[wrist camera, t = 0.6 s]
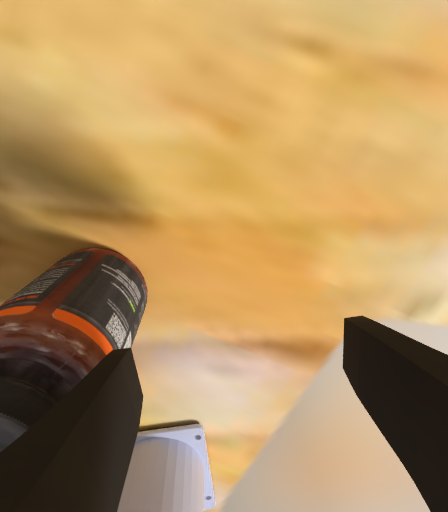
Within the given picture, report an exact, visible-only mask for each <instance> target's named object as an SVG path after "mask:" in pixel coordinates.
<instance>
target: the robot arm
mask: <svg viewBox="0 0 448 512" xmlns="http://www.w3.org/2000/svg"><path fill="white" fill-rule="evenodd" d="M343 369H344V371H345V373H346V375H347V377H348V379H349V381H350V383H351V385H352V387H353V389H354V391H355V393H356V395H357V396H358V398H359V399H360V401H361V403H362V404H363V406H364V407H365V409H366V410H367V412H368V413H369V415H370V416H371V418H372V419H373V421H374V422H375V424H376V425H377V427H378V428H379V430H380V431H381V433H382V434H383V436H384V437H385V438H386V440H387V441H388V443H389V444H390V446H391V447H392V449H393V450H394V452H395V453H396V455H397V456H398V457H399V459H400V461H401V462H402V464H403V465H404V467H405V468H406V470H407V471H408V473H409V475H410V476H411V478H412V479H413V481H414V483H415V484H416V486H417V488H418V490H419V491H420V493H421V495H422V497H423V499H424V500H425V502H426V504H427V506H428V507H429V509H430V511H431V512H448V355H447V354H444V353H442V352H440V351H438V350H435V349H433V348H431V347H429V346H427V345H424V344H422V343H420V342H418V341H416V340H414V339H412V338H409V337H407V336H405V335H403V334H401V333H399V332H397V331H395V330H393V329H391V328H388V327H386V326H384V325H382V324H380V323H378V322H376V321H373V320H371V319H369V318H366V317H364V316H357V317H350V318H344V347H343ZM142 402H143V394H142V390H141V386H140V382H139V378H138V374H137V370H136V366H135V362H134V358H133V354H132V350H131V348H123V349H116V350H112V351H111V352H110V353H108V354H107V355H106V356H105V357H104V358H103V359H102V360H101V361H100V362H99V363H98V364H97V365H96V366H95V367H94V368H93V369H92V370H91V371H90V372H89V373H88V374H87V375H86V376H85V377H84V378H83V379H82V380H81V381H80V382H79V383H78V384H77V385H76V386H75V387H74V388H73V389H72V390H71V391H70V392H69V393H68V394H67V395H66V396H65V397H63V398H62V399H61V400H60V401H59V402H58V403H57V404H56V405H55V406H54V407H52V408H51V409H50V410H49V411H48V412H47V413H46V414H45V415H44V416H43V417H41V418H40V419H39V420H38V421H37V422H36V423H35V424H34V425H33V426H31V427H30V428H29V429H28V430H27V431H26V432H24V433H23V434H22V435H21V436H20V437H18V438H17V439H16V440H15V441H14V442H12V443H11V444H10V445H9V446H7V447H6V448H5V449H4V450H2V451H1V452H0V512H204V510H208V509H212V508H214V507H215V496H214V490H213V483H212V477H211V471H210V465H209V459H208V452H207V446H206V440H205V434H204V428H203V426H202V425H200V424H192V425H185V426H178V427H170V428H163V429H156V430H149V431H141V432H138V430H139V424H140V417H141V410H142Z"/></svg>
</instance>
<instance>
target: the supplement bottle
mask: <svg viewBox="0 0 448 512" xmlns="http://www.w3.org/2000/svg"><path fill="white" fill-rule="evenodd" d="M146 303H147V287H146V283H145V280H144V277H143V276H142V274H141V272H140V271H139V269H138V268H137V267H136V266H135V265H134V264H133V263H132V262H131V261H130V260H129V259H127V258H126V257H124V256H122V255H121V254H119V253H116V252H113V251H110V250H106V249H100V248H88V249H83V250H79V251H76V252H74V253H71V254H70V255H68V256H66V257H65V258H63V259H61V260H60V261H58V262H57V263H56V264H55V265H53V266H52V267H51V268H49V269H48V270H47V271H46V272H44V273H43V274H41V275H40V276H39V277H38V278H36V279H35V280H34V281H32V282H31V283H30V284H28V285H27V286H26V287H24V288H23V289H22V290H21V291H19V292H18V293H17V294H15V295H14V296H13V297H11V298H10V299H8V300H7V301H6V302H5V303H3V304H2V305H1V306H0V452H1V451H2V450H4V449H5V448H6V447H7V446H9V445H10V444H11V443H12V442H14V441H15V440H16V439H17V438H18V437H20V436H21V435H22V434H23V433H24V432H26V431H27V430H28V429H29V428H30V427H31V426H33V425H34V424H35V423H36V422H37V421H38V420H39V419H40V418H41V417H43V416H44V415H45V414H46V413H47V412H48V411H49V410H50V409H51V408H52V407H54V406H55V405H56V404H57V403H58V402H59V401H60V400H61V399H62V398H63V397H65V396H66V395H67V394H68V393H69V392H70V391H71V390H72V389H73V388H74V387H75V386H76V385H77V384H78V383H79V382H80V381H81V380H82V379H83V378H84V377H85V376H86V375H87V374H88V373H89V372H90V371H91V370H92V369H93V368H94V367H95V366H96V365H97V364H98V363H99V362H100V361H101V360H102V359H103V358H104V357H105V356H106V355H107V354H108V353H110V352H111V351H112V350H116V349H123V348H131V347H132V344H133V341H134V338H135V336H136V333H137V330H138V327H139V324H140V322H141V319H142V316H143V313H144V310H145V306H146Z"/></svg>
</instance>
